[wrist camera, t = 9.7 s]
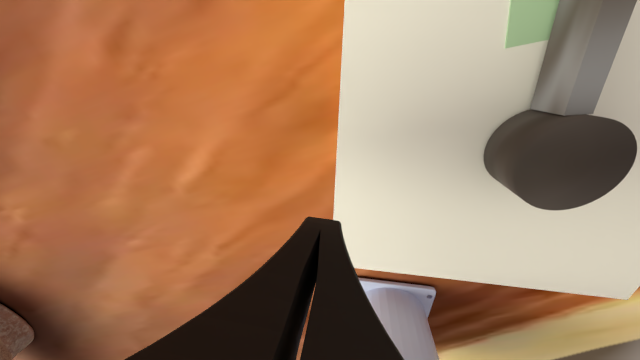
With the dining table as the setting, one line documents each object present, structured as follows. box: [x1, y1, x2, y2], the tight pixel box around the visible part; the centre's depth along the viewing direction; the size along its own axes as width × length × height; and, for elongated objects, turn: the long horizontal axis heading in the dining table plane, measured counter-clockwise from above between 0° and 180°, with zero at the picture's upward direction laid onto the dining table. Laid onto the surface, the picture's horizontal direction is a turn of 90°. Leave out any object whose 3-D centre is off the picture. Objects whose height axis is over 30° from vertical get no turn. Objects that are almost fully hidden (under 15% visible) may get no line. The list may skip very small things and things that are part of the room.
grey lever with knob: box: [484, 0, 637, 211], centre depth 11 cm, size 14×5×3 cm, turn 6°
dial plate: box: [333, 0, 640, 300], centre depth 15 cm, size 24×24×1 cm
